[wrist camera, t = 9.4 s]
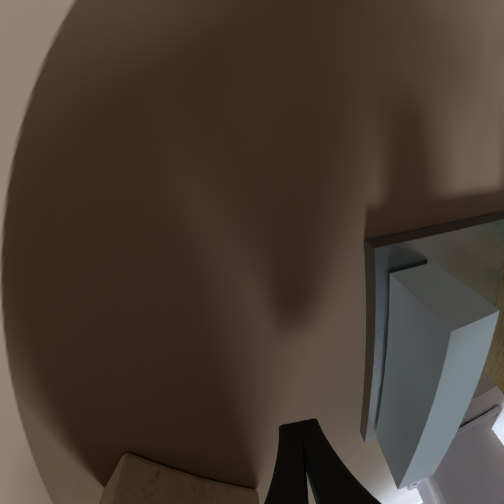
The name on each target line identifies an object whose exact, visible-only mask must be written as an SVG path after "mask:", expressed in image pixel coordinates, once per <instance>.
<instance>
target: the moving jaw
mask: <svg viewBox="0 0 504 504" xmlns="http://www.w3.org/2000/svg"><path fill="white" fill-rule="evenodd" d="M498 315H499V310H498V309H497V308H496V307H494V306H493V305H492V304H490V303H489V302H488V301H487V300H485V299H484V298H483V297H481V296H480V295H479V294H477V293H476V292H474V291H473V290H472V289H470V288H469V287H468V286H466V285H465V284H463V283H462V282H461V281H459V280H458V279H456V278H455V277H454V276H452V275H451V274H449V273H448V272H446V271H445V270H444V269H442V268H441V267H439V266H438V265H436V264H435V263H433V262H432V263H429V264H425V265H421V266H417V267H413V268H409V269H405V270H401V271H397V272H393V273H390V294H389V322H388V339H387V352H386V363H385V373H384V381H383V389H382V397H381V404H380V411H379V417H378V423H377V429H376V434H375V435H376V437H377V439H378V442H379V444H380V447H381V449H382V451H383V454H384V456H385V459H386V461H387V464H388V466H389V469H390V471H391V474H392V476H393V479H394V481H395V484H396V486H397V489H400V488H403V487H405V486H408V485H410V484H413V483H415V482H418V481H420V480H422V479H424V478H427V477H429V476H431V475H433V474H434V472H435V471H436V469H437V467H438V466H439V464H440V462H441V460H442V459H443V457H444V455H445V453H446V452H447V450H448V448H449V446H450V444H451V442H452V440H453V438H454V436H455V434H456V432H457V430H458V428H459V426H460V424H461V422H462V420H463V418H464V415H465V413H466V411H467V409H468V406H469V404H470V402H471V399H472V397H473V394H474V392H475V389H476V387H477V384H478V381H479V379H480V376H481V373H482V370H483V367H484V364H485V361H486V358H487V355H488V352H489V348H490V345H491V342H492V338H493V334H494V331H495V327H496V323H497V319H498Z"/></svg>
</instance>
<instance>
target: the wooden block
mask: <svg viewBox="0 0 504 504" xmlns="http://www.w3.org/2000/svg"><path fill="white" fill-rule="evenodd" d="M100 504H259V497H258V492H257V491H256V490H254V489H250V488H245V487H240V486H235V485H230V484H226V483H221V482H217V481H213V480H209V479H205V478H201V477H198V476H194V475H191V474H187V473H184V472H181V471H178V470H175V469H172V468H169V467H166V466H163V465H160V464H157V463H154V462H151V461H149V460H146V459H144V458H141V457H138V456H136V455H133V454H130V453H125V454H124V455H123V456H122V458H121V459H120V461H119V463H118V465H117V467H116V468H115V470H114V472H113V474H112V476H111V478H110V479H109V481H108V483H107V485H106V487H105V489H104V491H103V493H102V497H101V500H100Z"/></svg>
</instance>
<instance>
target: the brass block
mask: <svg viewBox="0 0 504 504" xmlns="http://www.w3.org/2000/svg"><path fill="white" fill-rule="evenodd" d="M494 307H496V308H497V309H498V310H499V315H498V319H497V323H496V327H495V331H494V334H493V338H492V342H491V345H490V348H489V352H488V355H487V358H486V361H485V364H484V367H483V370H484V371H485V373H486V374H487V375H488V376H489V377H490V378H491V379H492V380H493V382H494V383H495V384H496V385H497V386H498V387H499V389H500V390H501V391H502V392H503V393H504V270H501V271H500V275H499V281H498V288H497V293H496V299H495V304H494Z"/></svg>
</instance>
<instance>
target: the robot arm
mask: <svg viewBox="0 0 504 504" xmlns="http://www.w3.org/2000/svg"><path fill="white" fill-rule="evenodd" d="M501 410H502V407H501V405H498V406H497V407H495V408H493V409H492V410H490V411H489V412H487V413H485V414H484V415H482V416H480V417H478V418H477V419H475V420H473V421H471V422H470V423H468V424H466V425H464V426H462V427H460V428H458V430H457V432H456V434H455V436H454V438H453V440H452V442H451V444H450V446H449V448H448V450H447V452H446V453H445V455H444V457H443V459H442V460H441V462H440V464H439V466H438V467H437V469H436V471H435V472H434V474H433V475H431V476H429V477H427V478H424V479H422V480H420V481H418V482H415V483H413V484H410V485H408V487H407V489H408V490H412V489H415V488H417V489H418V491H419V493H420V496H421V498H422V500H423V503H424V504H504V446H503V444H502V443H501V441H500V440H499V438H498V437H497V435H496V434H495V432H494V431H493V430H492V426H493V425H494V423H495V421H496V419H497V417H498V416H499V414H500V412H501ZM306 472H307V476H308V479H309V482H310V486H311V489H312V492H313V495H314V499H315V502H316V504H381V503H380V502H379V501H378V500H377V499H376V498H375V497H373V496H372V495H371V494H370V493H369V492H368V491H367V490H366V489H365V488H364V487H363V486H362V485H361V484H360V483H359V482H358V480H357V479H356V478H355V477H354V476H353V475H352V474H351V472H350V471H349V470H348V469H347V467H346V466H345V465H344V464H343V462H342V461H341V460H340V458H339V457H338V455H337V454H336V453H335V451H334V450H333V448H332V447H331V445H330V444H329V442H328V440H327V439H326V437H325V435H324V433H323V431H322V429H321V427H320V425H319V423H318V420H317V419H315V418H314V419H309V420H304V421H299V422H294V423H289V424H284V425H281V426H280V427H279V445H278V453H277V459H276V464H275V469H274V474H273V478H272V481H271V484H270V488H269V491H268V494H267V497H266V500H265V503H264V504H309V502H308V488H307V476H306Z"/></svg>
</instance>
